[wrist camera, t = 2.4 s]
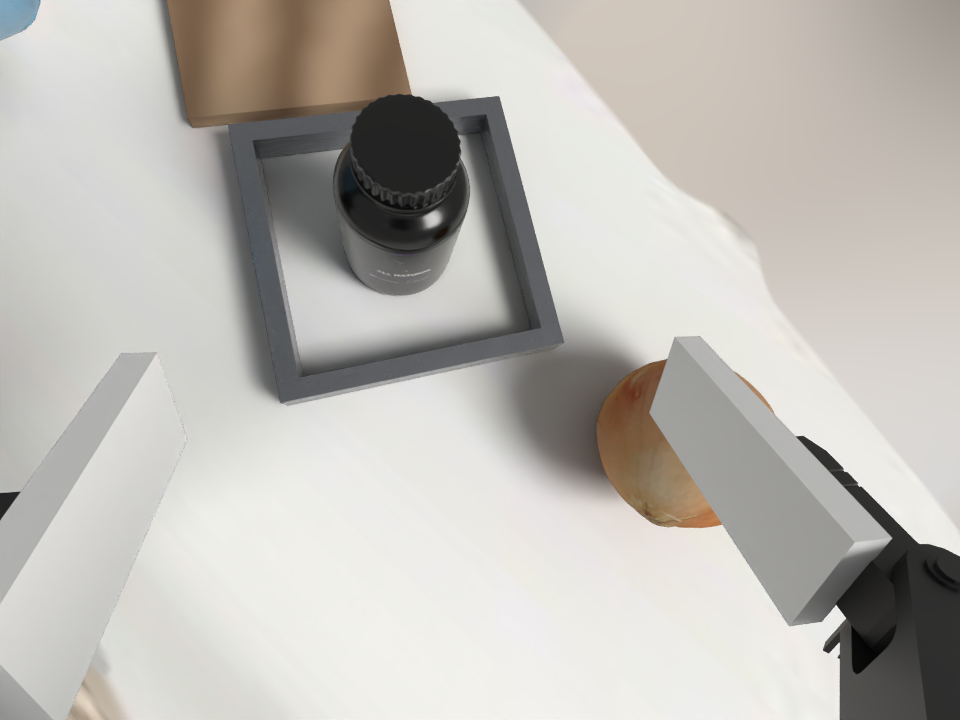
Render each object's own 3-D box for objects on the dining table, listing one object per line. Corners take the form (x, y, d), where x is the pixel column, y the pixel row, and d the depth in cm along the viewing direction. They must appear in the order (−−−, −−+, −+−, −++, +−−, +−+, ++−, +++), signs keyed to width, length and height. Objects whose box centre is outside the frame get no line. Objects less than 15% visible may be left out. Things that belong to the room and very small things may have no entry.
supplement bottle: (390, 319, 33) (390, 249, 21) (322, 237, 33) (285, 122, 21) (471, 258, 34) (514, 161, 23) (407, 180, 34) (415, 43, 23)
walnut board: (193, 127, 32) (187, 118, 31) (159, -63, 34) (152, -78, 33) (411, 105, 35) (411, 95, 34) (369, -70, 37) (369, -84, 36)
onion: (554, 491, 33) (624, 510, 23) (597, 348, 35) (677, 309, 25) (689, 538, 34) (811, 576, 24) (723, 396, 36) (847, 378, 26)
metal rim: (287, 405, 31) (280, 402, 29) (237, 143, 33) (228, 124, 31) (554, 348, 34) (563, 342, 32) (493, 114, 36) (499, 96, 34)
